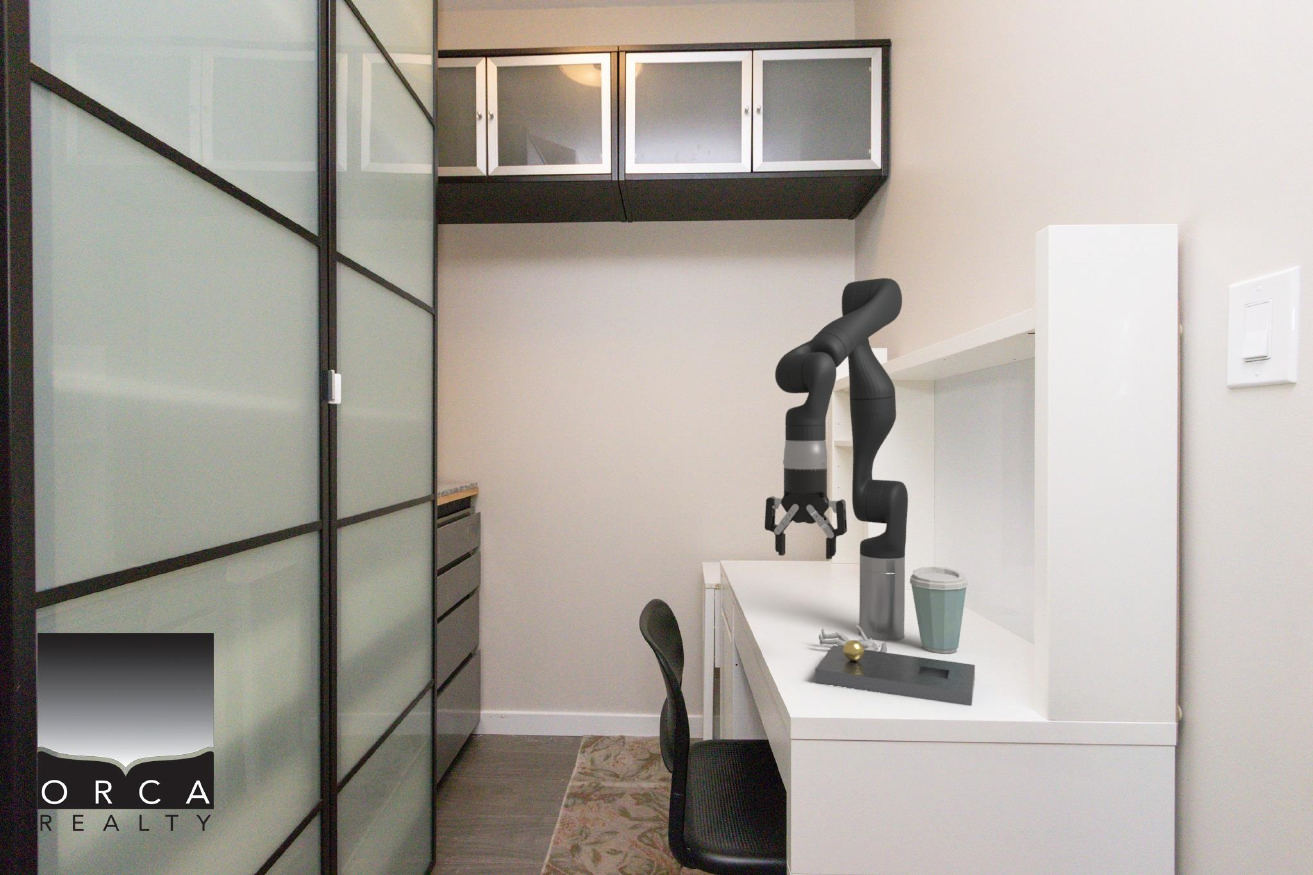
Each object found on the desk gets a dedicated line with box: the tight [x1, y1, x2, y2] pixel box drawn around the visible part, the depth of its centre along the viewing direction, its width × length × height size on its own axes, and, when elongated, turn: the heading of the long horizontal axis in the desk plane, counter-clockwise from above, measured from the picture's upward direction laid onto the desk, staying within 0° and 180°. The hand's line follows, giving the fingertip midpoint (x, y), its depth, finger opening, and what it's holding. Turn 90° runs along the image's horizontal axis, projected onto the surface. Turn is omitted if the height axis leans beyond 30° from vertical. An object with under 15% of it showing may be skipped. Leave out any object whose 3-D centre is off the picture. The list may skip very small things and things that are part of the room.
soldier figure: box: [818, 624, 888, 653], centre depth 135 cm, size 8×5×12 cm
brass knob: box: [843, 639, 864, 661], centre depth 122 cm, size 4×4×4 cm
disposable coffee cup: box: [909, 566, 969, 654], centre depth 137 cm, size 11×11×15 cm
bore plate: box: [814, 644, 976, 707], centre depth 119 cm, size 14×24×2 cm, turn 64°
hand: (805, 556), depth 126 cm, fingers open, 8 cm apart
